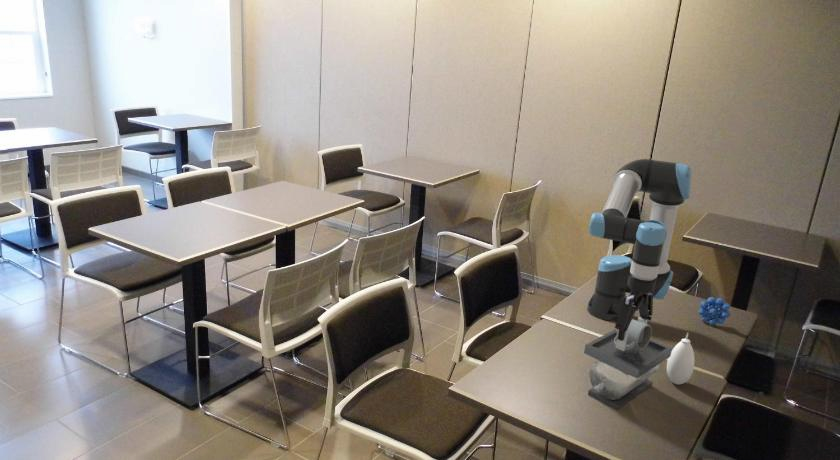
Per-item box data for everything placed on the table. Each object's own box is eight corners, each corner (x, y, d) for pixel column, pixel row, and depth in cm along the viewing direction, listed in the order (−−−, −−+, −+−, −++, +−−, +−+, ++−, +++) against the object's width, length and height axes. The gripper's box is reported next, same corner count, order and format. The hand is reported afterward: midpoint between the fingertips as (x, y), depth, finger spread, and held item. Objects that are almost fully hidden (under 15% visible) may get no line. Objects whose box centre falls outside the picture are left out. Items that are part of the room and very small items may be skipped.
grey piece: (613, 367, 200) (620, 326, 195) (663, 391, 188) (672, 348, 183) (577, 389, 186) (584, 345, 181) (628, 416, 174) (638, 370, 169)
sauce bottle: (663, 385, 191) (674, 335, 185) (663, 373, 198) (674, 324, 192) (690, 392, 188) (702, 340, 183) (689, 379, 195) (700, 330, 190)
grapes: (730, 327, 235) (737, 299, 231) (723, 332, 230) (730, 303, 226) (700, 316, 243) (707, 289, 239) (693, 321, 238) (700, 293, 234)
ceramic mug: (626, 334, 188) (630, 312, 186) (650, 345, 183) (654, 322, 180) (606, 344, 182) (610, 321, 179) (630, 356, 176) (634, 332, 174)
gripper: (649, 263, 185) (637, 328, 192) (610, 280, 170) (598, 349, 177) (673, 271, 180) (659, 337, 187) (634, 289, 165) (621, 360, 172)
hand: (629, 343), depth 182 cm, fingers closed on ceramic mug, 10 cm apart
